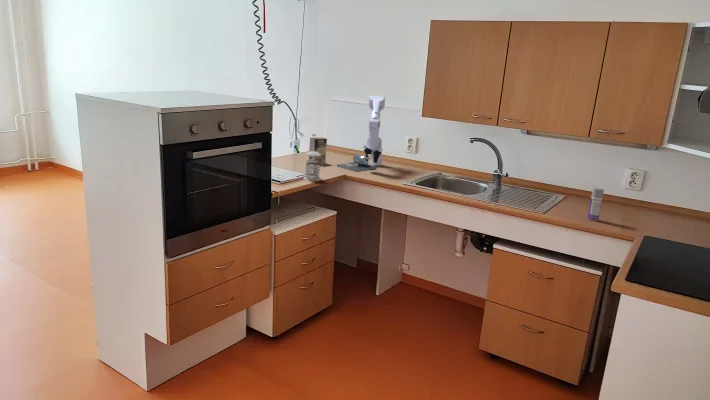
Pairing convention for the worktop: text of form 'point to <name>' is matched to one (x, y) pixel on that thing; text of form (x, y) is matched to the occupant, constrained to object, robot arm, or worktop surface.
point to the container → (595, 204)
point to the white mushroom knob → (370, 159)
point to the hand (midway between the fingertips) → (371, 161)
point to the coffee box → (318, 149)
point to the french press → (315, 168)
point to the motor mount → (357, 164)
